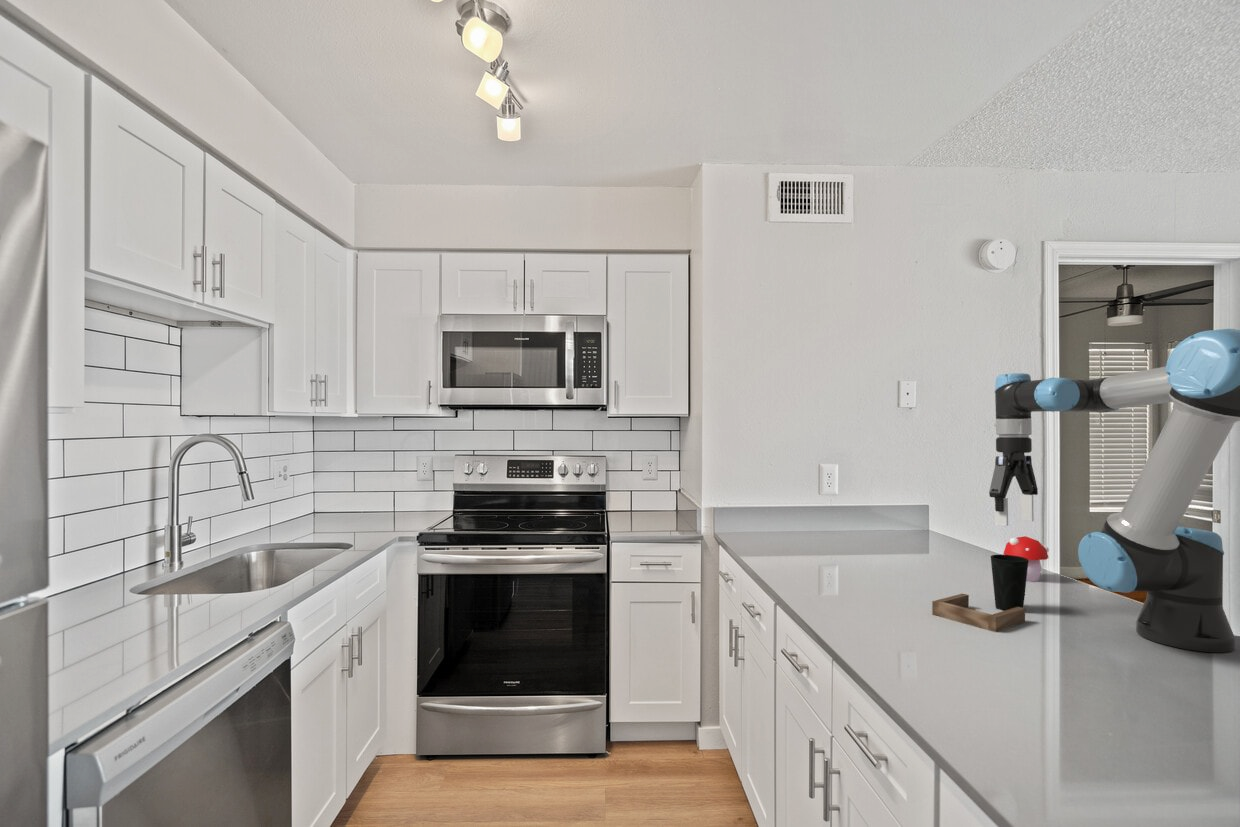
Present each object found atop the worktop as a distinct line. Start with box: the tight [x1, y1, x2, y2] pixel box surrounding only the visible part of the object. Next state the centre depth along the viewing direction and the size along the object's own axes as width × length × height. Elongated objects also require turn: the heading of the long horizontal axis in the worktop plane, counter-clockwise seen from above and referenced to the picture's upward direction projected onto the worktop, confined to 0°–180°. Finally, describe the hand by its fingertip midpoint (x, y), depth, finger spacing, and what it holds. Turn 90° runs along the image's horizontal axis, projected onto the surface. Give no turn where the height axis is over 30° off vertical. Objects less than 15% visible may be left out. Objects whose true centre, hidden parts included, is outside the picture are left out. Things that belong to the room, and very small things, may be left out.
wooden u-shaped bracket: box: [931, 593, 1026, 633], centre depth 145 cm, size 14×12×3 cm
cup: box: [990, 554, 1029, 611], centre depth 152 cm, size 8×8×12 cm
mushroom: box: [1002, 536, 1050, 583], centre depth 181 cm, size 11×11×12 cm
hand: (1014, 523), depth 158 cm, fingers open, 13 cm apart
